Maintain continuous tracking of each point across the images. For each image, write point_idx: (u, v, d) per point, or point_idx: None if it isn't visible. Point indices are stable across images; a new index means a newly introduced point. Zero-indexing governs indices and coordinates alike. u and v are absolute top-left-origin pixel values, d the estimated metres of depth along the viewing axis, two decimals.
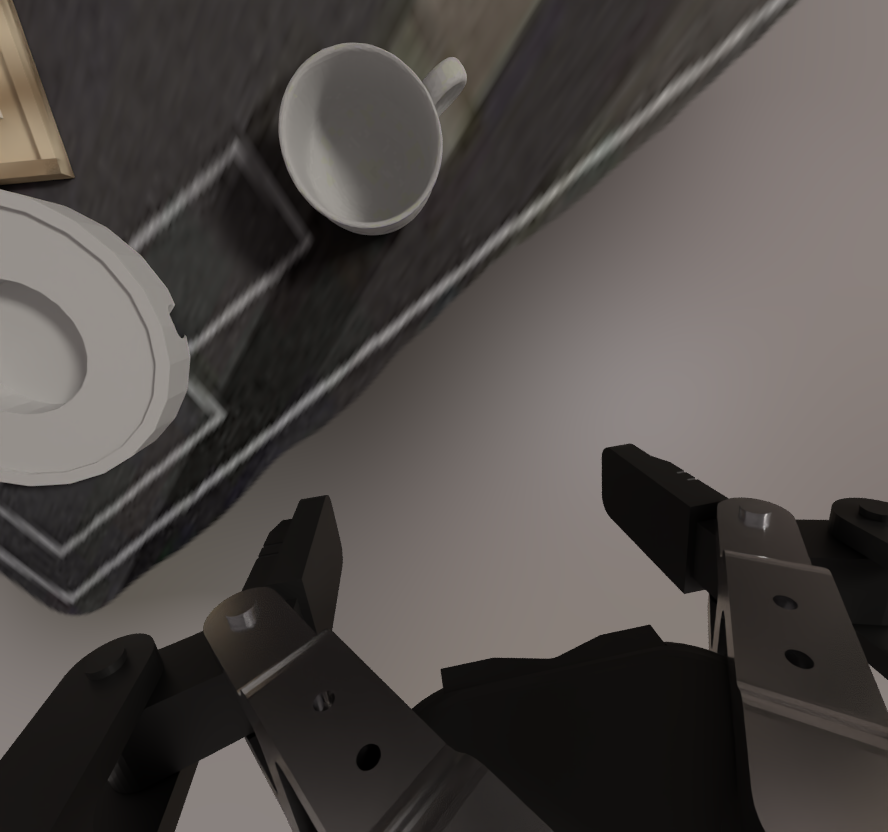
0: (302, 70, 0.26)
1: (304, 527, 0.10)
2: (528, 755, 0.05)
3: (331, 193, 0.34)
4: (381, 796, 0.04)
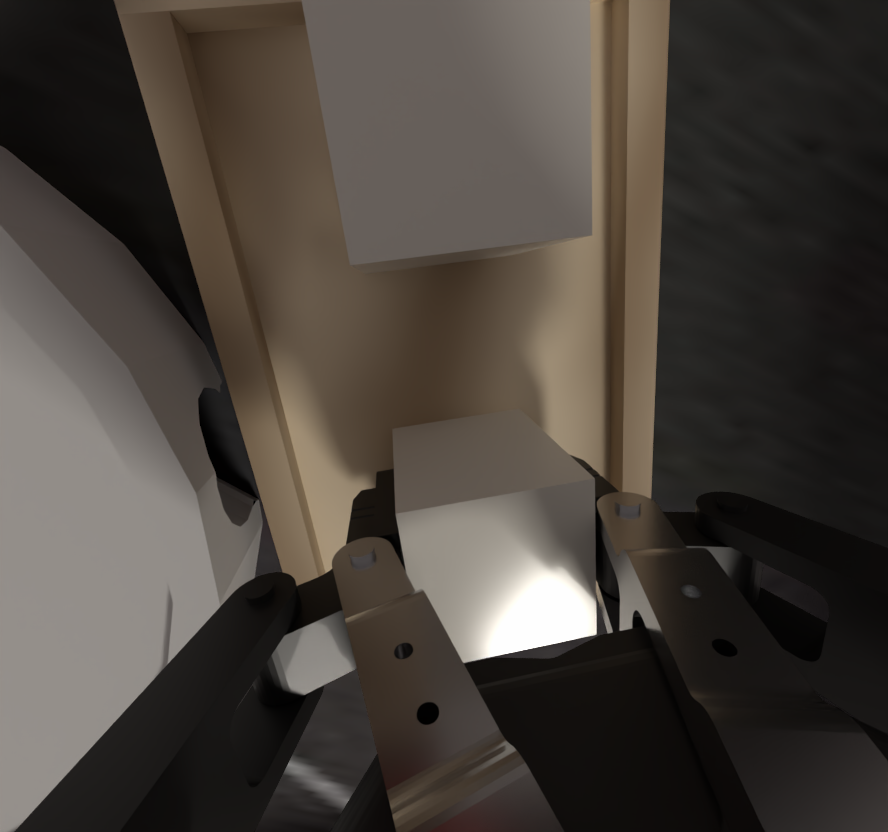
0: None
1: (390, 493, 0.11)
2: (528, 755, 0.05)
3: None
4: (429, 751, 0.04)
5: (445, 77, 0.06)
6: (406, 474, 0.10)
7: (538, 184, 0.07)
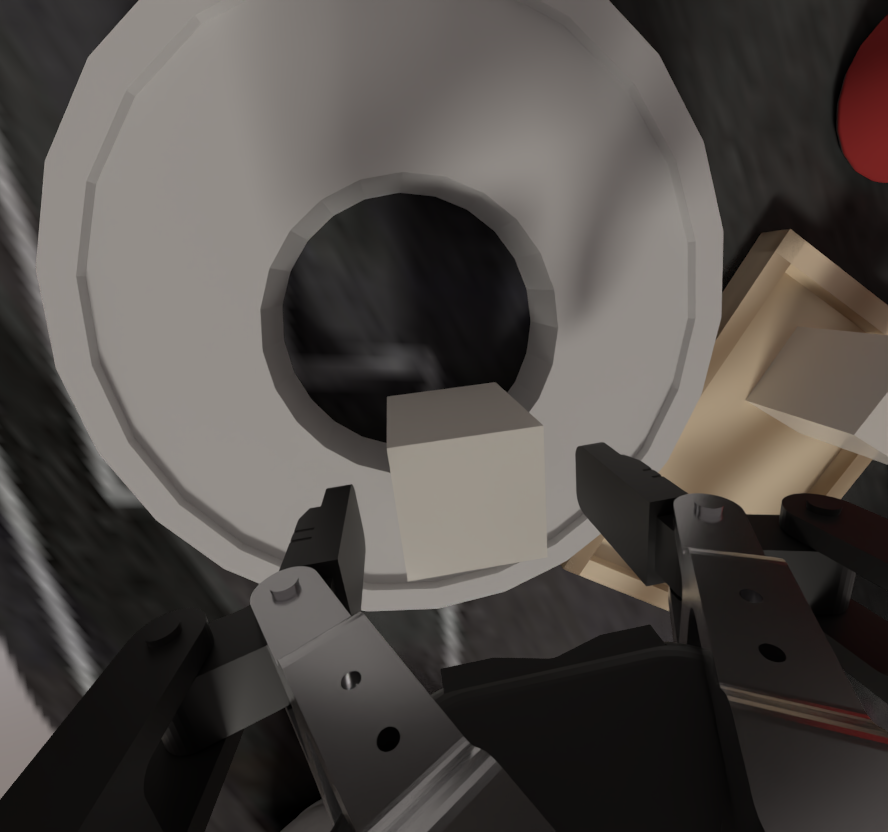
0: None
1: (334, 513, 0.10)
2: (528, 755, 0.05)
3: None
4: (396, 777, 0.04)
5: None
6: (396, 425, 0.12)
7: None
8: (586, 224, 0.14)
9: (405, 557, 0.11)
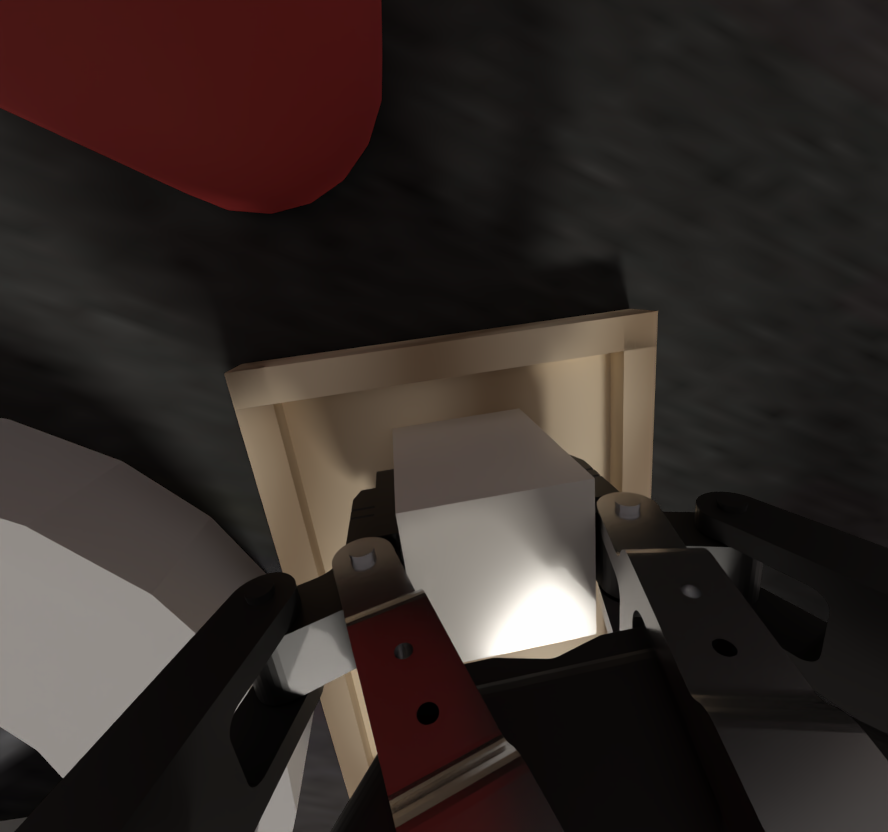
0: None
1: (390, 493, 0.11)
2: (528, 755, 0.05)
3: None
4: (429, 750, 0.04)
5: (495, 567, 0.09)
6: None
7: (558, 612, 0.09)
8: None
9: None
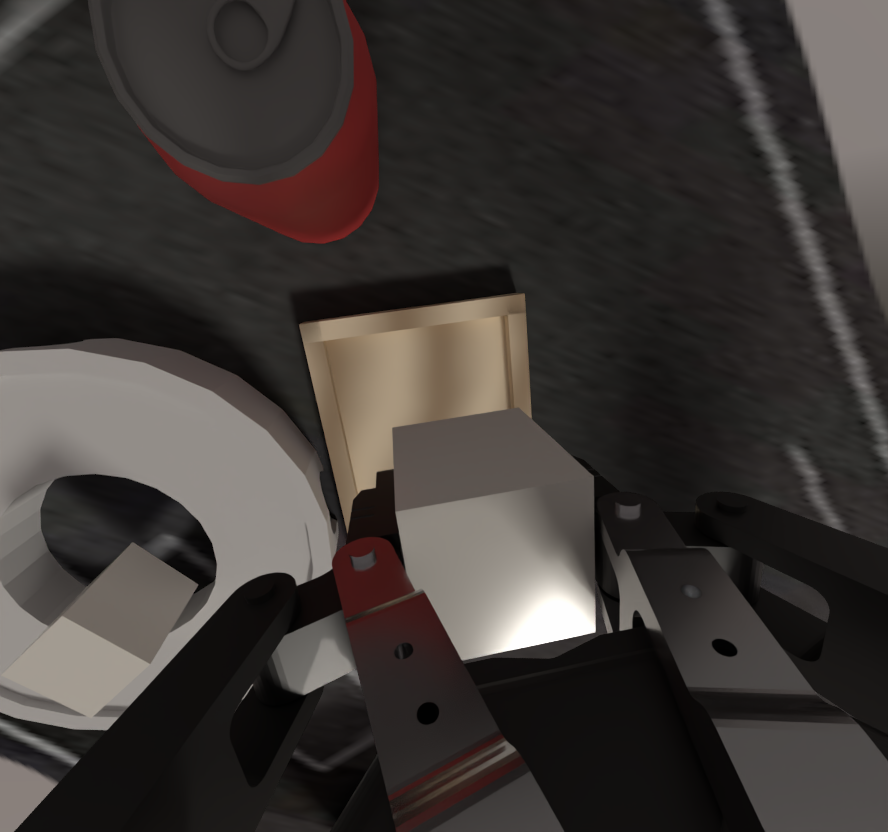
0: None
1: (390, 493, 0.11)
2: (528, 755, 0.05)
3: None
4: (429, 751, 0.04)
5: (494, 565, 0.09)
6: None
7: (557, 610, 0.09)
8: (135, 445, 0.20)
9: (74, 709, 0.18)
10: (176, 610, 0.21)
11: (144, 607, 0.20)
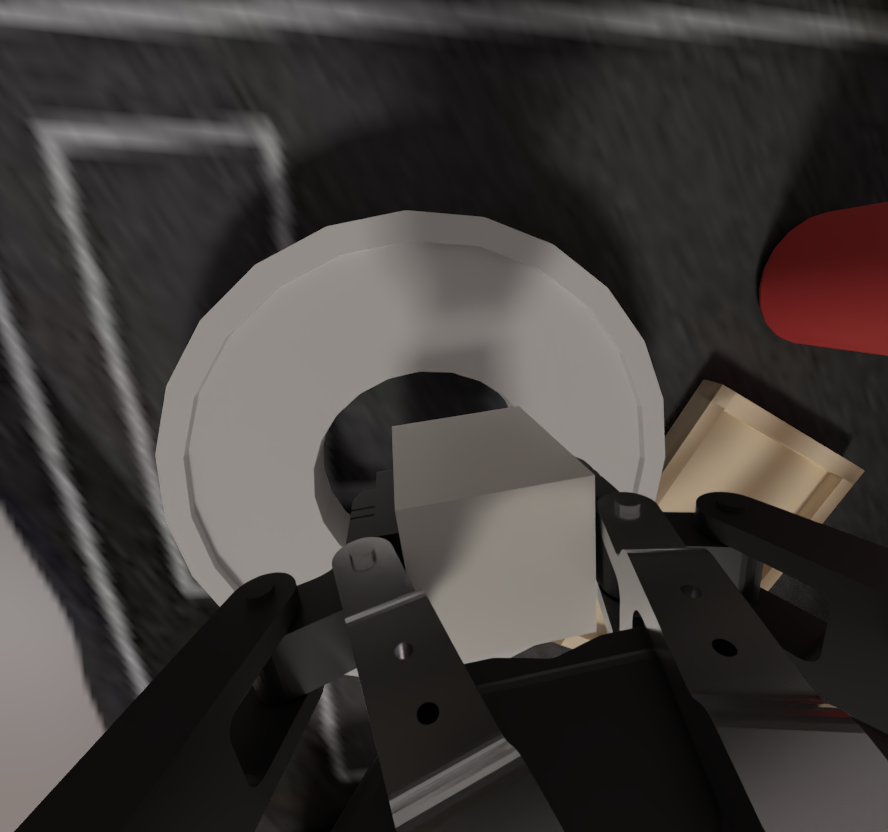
0: None
1: (390, 493, 0.11)
2: (528, 755, 0.05)
3: None
4: (429, 750, 0.04)
5: (495, 565, 0.09)
6: None
7: (558, 610, 0.09)
8: (558, 397, 0.19)
9: None
10: None
11: None
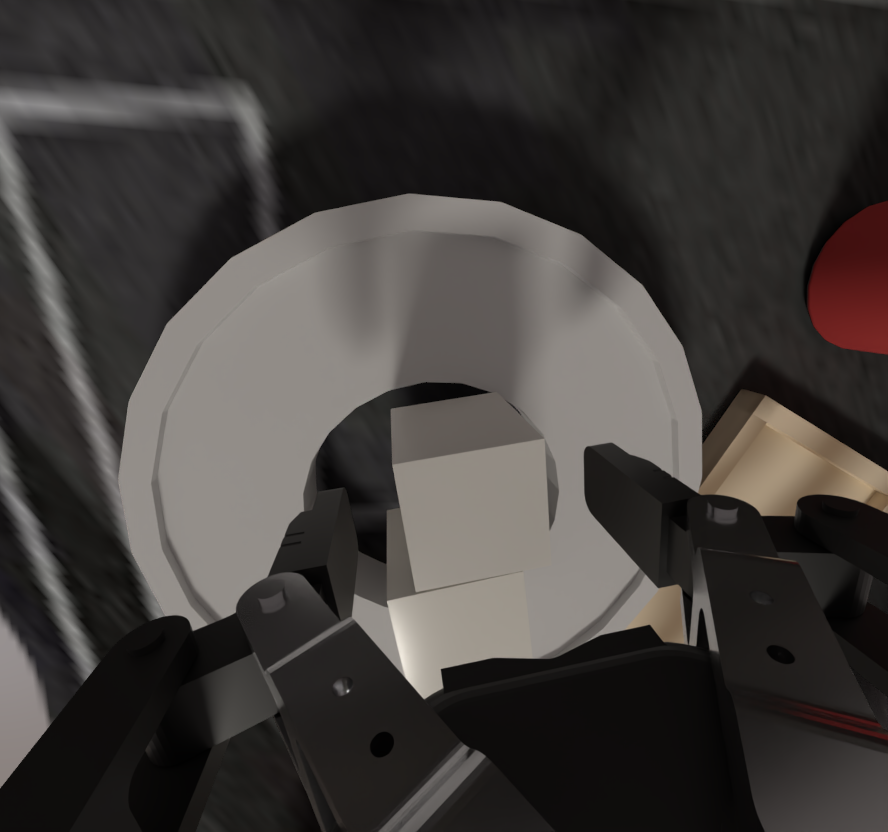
0: None
1: (324, 517, 0.10)
2: (528, 755, 0.05)
3: None
4: (391, 784, 0.04)
5: (469, 508, 0.11)
6: (395, 562, 0.13)
7: (520, 546, 0.12)
8: (582, 410, 0.17)
9: None
10: None
11: None
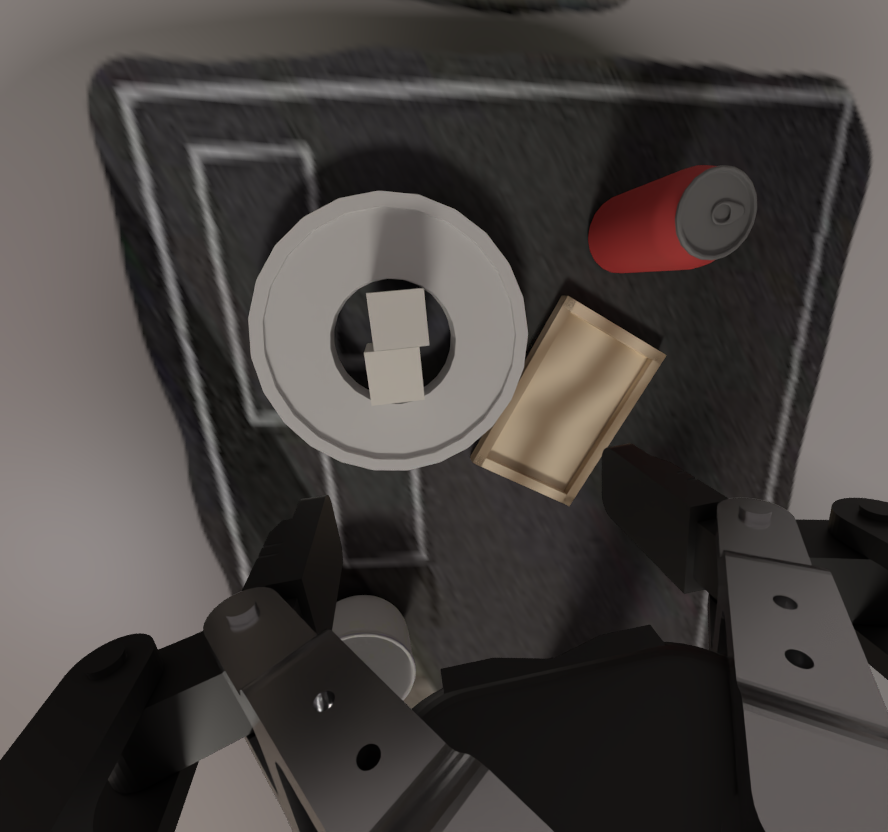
0: (412, 665, 0.40)
1: (304, 527, 0.10)
2: (528, 755, 0.05)
3: None
4: (381, 796, 0.04)
5: (395, 315, 0.29)
6: (368, 348, 0.31)
7: (416, 335, 0.30)
8: (464, 295, 0.35)
9: (370, 395, 0.31)
10: None
11: None
